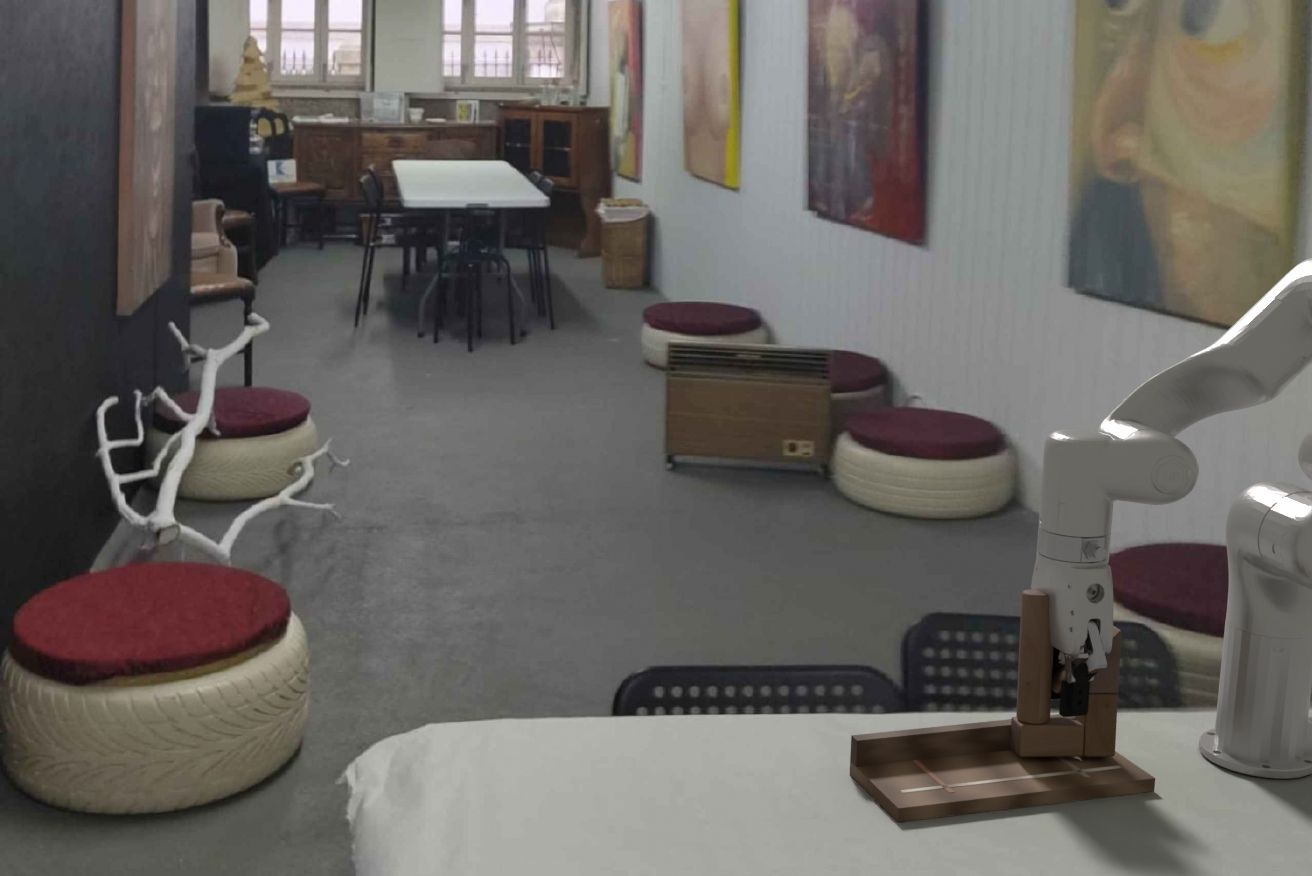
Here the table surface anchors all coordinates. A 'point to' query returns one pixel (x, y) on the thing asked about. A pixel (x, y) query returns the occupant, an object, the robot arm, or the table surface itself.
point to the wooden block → (1033, 722)
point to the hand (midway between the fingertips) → (1060, 705)
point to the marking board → (978, 772)
